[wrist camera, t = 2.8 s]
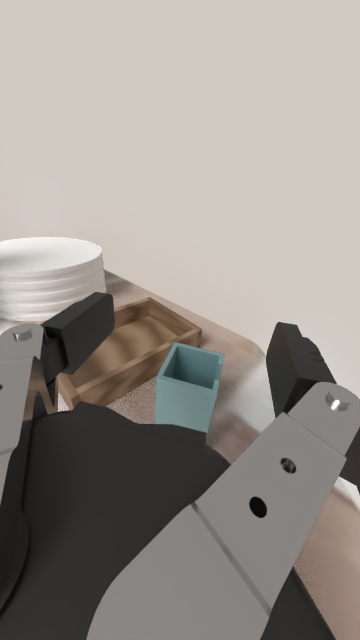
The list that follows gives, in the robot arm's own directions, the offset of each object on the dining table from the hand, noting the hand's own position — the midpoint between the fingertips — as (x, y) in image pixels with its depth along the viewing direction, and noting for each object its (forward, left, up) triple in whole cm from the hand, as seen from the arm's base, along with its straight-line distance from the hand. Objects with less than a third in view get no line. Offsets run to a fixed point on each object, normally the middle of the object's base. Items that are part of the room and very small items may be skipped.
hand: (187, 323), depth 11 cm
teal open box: (+7, +5, -23) cm, 24 cm away
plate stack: (+7, +56, -23) cm, 61 cm away
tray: (+9, +23, -22) cm, 33 cm away
